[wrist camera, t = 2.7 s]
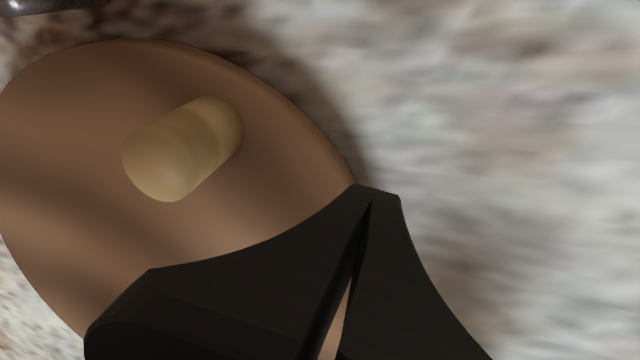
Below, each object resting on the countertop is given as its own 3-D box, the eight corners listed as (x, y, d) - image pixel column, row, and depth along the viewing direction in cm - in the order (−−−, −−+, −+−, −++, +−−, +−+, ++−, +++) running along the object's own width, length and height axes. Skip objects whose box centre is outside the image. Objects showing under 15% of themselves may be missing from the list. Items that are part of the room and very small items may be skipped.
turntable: (279, 429, 26) (246, 521, 21) (6, 269, 26) (-82, 330, 22) (478, 204, 15) (491, 296, 11) (20, -62, 15) (-144, -72, 11)
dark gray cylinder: (246, 362, 24) (213, 429, 20) (45, 244, 24) (-22, 291, 20) (395, 135, 15) (381, 184, 12) (79, -48, 15) (-27, -52, 12)
